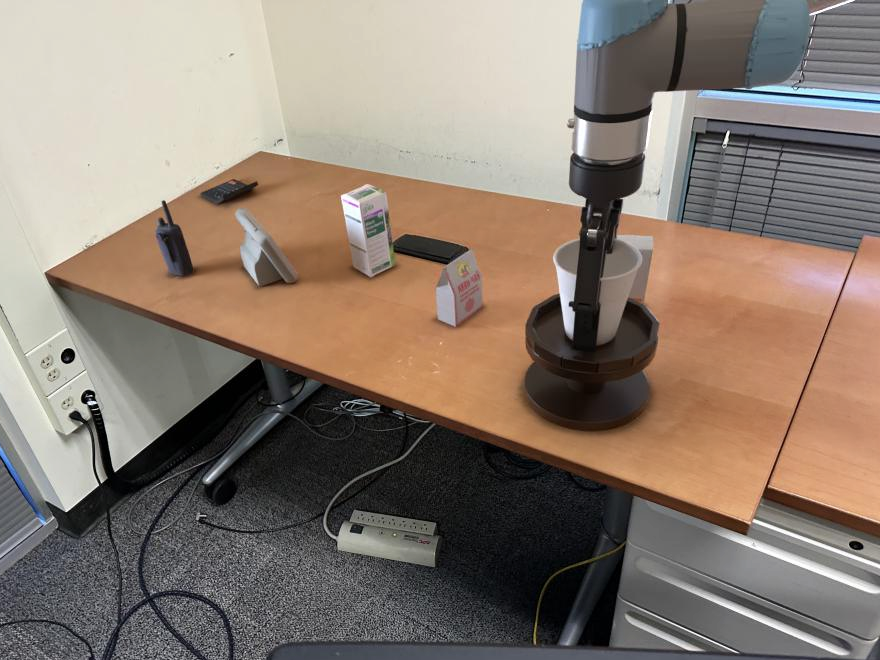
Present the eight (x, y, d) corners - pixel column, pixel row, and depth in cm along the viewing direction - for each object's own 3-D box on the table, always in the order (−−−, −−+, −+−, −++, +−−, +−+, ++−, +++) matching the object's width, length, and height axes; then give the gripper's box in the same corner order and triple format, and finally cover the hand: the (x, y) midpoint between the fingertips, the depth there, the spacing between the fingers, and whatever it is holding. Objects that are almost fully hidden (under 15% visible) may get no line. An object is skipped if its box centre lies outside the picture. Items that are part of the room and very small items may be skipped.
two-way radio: (198, 269, 133) (174, 197, 124) (185, 281, 130) (159, 208, 121) (176, 266, 136) (151, 195, 126) (162, 278, 133) (135, 206, 123)
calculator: (234, 182, 166) (231, 170, 164) (260, 193, 158) (257, 181, 156) (201, 196, 161) (197, 184, 160) (226, 208, 154) (223, 196, 152)
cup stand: (654, 363, 95) (666, 296, 88) (639, 442, 84) (651, 372, 77) (538, 347, 101) (541, 283, 94) (511, 418, 90) (511, 351, 83)
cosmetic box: (600, 317, 105) (607, 247, 97) (602, 302, 108) (609, 233, 100) (642, 320, 103) (653, 249, 95) (643, 304, 106) (653, 235, 98)
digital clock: (300, 285, 124) (289, 232, 117) (251, 297, 123) (237, 244, 116) (286, 246, 136) (275, 196, 130) (241, 257, 135) (228, 206, 128)
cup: (548, 355, 84) (551, 278, 77) (550, 310, 92) (554, 236, 85) (633, 358, 82) (645, 279, 75) (629, 312, 89) (639, 235, 82)
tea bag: (437, 319, 110) (433, 264, 104) (464, 300, 113) (462, 246, 107) (455, 326, 108) (452, 271, 101) (482, 307, 111) (481, 252, 105)
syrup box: (371, 278, 122) (360, 202, 113) (352, 267, 126) (340, 193, 117) (396, 266, 125) (387, 190, 116) (376, 255, 129) (366, 182, 120)
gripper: (588, 115, 80) (575, 281, 95) (549, 192, 66) (541, 374, 80) (657, 116, 78) (633, 287, 92) (631, 197, 63) (608, 385, 78)
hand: (590, 328), depth 86 cm, fingers closed on cup, 8 cm apart
